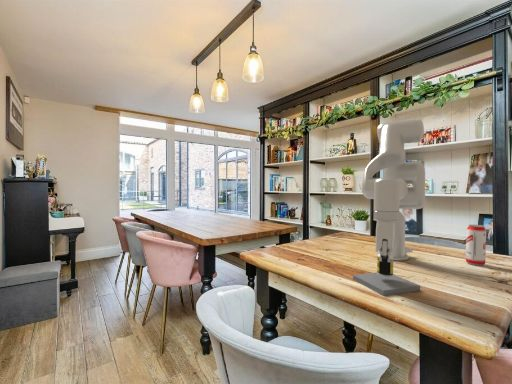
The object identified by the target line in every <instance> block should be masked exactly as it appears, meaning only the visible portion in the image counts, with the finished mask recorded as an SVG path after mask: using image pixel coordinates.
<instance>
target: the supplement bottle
mask: <svg viewBox="0 0 512 384" xmlns="http://www.w3.org/2000/svg"><path fill="white" fill-rule="evenodd" d="M378 252H379V254H378V256H377V262H376V266H377V267H376V268H377V269H376V272H377V274H378V275H380V276H384V277H391V276H393V274H394V260H393V256H392V253H390V262H391V264H390V275H385V274H380V273H379V261H380V250H379V251H378ZM387 252H389V250H387ZM387 255H388V254H387Z"/></svg>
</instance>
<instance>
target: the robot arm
mask: <svg viewBox="0 0 512 384" xmlns="http://www.w3.org/2000/svg"><path fill="white" fill-rule="evenodd" d="M376 135H377V139H378V142H379V146H378V147H379V148H378V155H376V156H375V157H374V158H372V159H371V161H369V163H368V164H367V166H366V167H365V169H364V171H363V177H362V183H361V184H362V185H361V192H362V195H363V197H364V198H366V199H367V200H373V219H372V220H373V221H375V222H376V227H375V248H374V249H375V250H374V251H375V252H377V253H376V255H377V256H378V254H379V250H380V261H379V273H380V274H385V275H390V264H391V262H390V253H392V256H393V261H401V262H402V261H407V260H409V255H408V253H413V251H414V250H413V248H412V247H406V217H405V216H404V214H403V212H401V211H400V209H405V210H419V209H420V210H421V209H422V208H424V206H425V203H426V168H425V165H424V163H422V162H420V161H406V149H405V144H416V143H420V142H422V140H423V138H424V135H425V126H424V122H423V121H422V119H420V118H416V119H403V120H394V121H393V120H392V121H387V122H383V123H381V124H378V126H377V128H376ZM382 170H383V177H373V176H374V175H375V174H377V173H378V172H380V171H382ZM408 185H412V186H408ZM387 250H389V252H387ZM387 254H388V255H387Z"/></svg>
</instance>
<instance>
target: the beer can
mask: <svg viewBox="0 0 512 384" xmlns="http://www.w3.org/2000/svg"><path fill="white" fill-rule="evenodd" d="M465 237H466V241H465V261H466V263H467V264H468V265H472V266H476V267H483V266H484V265H485V264H486V257H487V254H486V253H487V251H486V250H487V230H486V227H485V225H481V224H468V226H467V228H466V236H465Z"/></svg>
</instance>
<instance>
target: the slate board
mask: <svg viewBox="0 0 512 384" xmlns="http://www.w3.org/2000/svg"><path fill="white" fill-rule="evenodd" d="M352 280H353V281H356V282H358V283H359V284H360V285H363V286H365V287H366V288H368V289H370V290H372V291H373V292H375V293H378V294H380V295H381V296H390V295H397V294H405V293H410V292H411V291H412V292H418V291H417V290H419V291H421V284H417V283H415V282H413V281H411V280H408V279H405V278H404V277H400V276H398V275H396V274H394V273H393V276H391V277H384V276H380V275H378V274H377V271H376V272H368V273H359V274H352ZM412 292H411V293H412Z"/></svg>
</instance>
